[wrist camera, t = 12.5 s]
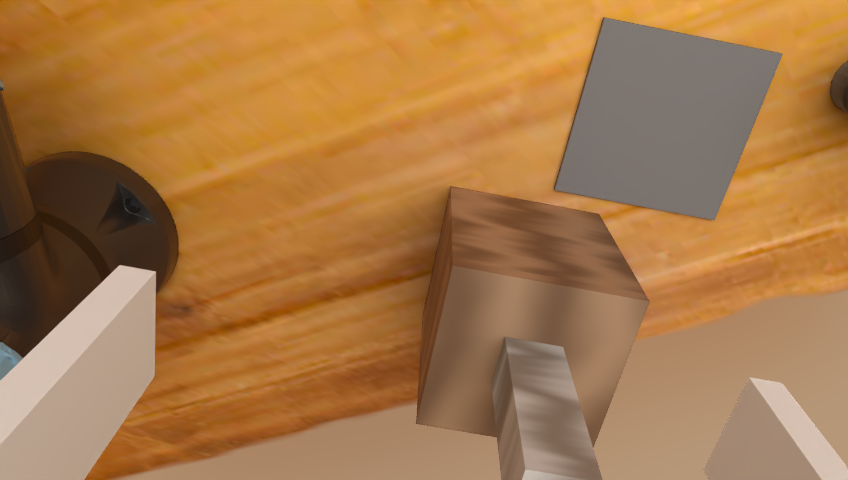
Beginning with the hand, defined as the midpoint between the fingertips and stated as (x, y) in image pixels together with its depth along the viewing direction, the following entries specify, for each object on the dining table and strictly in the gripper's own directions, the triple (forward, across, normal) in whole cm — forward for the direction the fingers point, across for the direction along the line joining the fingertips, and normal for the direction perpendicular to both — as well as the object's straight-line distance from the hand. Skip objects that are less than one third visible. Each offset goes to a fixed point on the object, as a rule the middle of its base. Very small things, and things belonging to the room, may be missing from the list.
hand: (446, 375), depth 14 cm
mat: (+40, +18, -1) cm, 44 cm away
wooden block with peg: (+40, +9, -16) cm, 44 cm away
